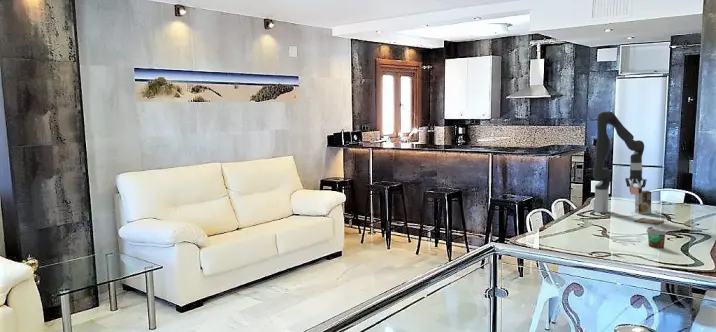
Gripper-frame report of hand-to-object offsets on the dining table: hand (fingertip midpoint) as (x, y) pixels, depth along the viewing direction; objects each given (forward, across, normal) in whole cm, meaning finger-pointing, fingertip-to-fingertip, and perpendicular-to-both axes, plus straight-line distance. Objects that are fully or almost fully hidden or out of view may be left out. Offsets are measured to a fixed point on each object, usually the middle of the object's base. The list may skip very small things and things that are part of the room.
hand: (635, 193), depth 375 cm
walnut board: (+18, +12, -6) cm, 23 cm away
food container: (+19, +40, -70) cm, 82 cm away
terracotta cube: (+1, 0, 0) cm, 1 cm away
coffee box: (+18, -4, +22) cm, 28 cm away
